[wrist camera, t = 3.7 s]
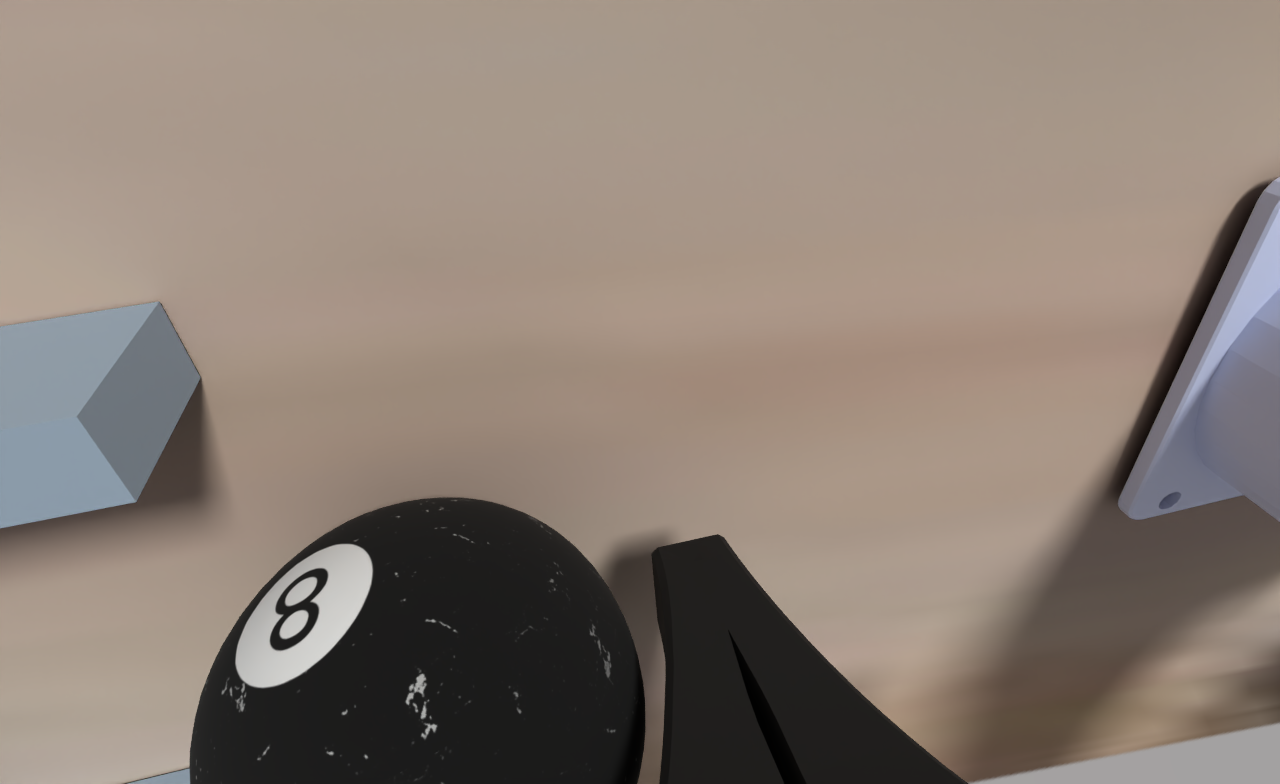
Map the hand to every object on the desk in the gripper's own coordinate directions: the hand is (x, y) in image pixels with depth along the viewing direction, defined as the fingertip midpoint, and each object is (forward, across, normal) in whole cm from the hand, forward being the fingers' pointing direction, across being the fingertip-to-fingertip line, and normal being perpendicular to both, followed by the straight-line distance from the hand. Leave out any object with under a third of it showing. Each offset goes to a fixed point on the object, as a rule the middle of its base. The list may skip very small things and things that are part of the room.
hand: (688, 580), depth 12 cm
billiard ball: (+2, +4, 0) cm, 5 cm away
